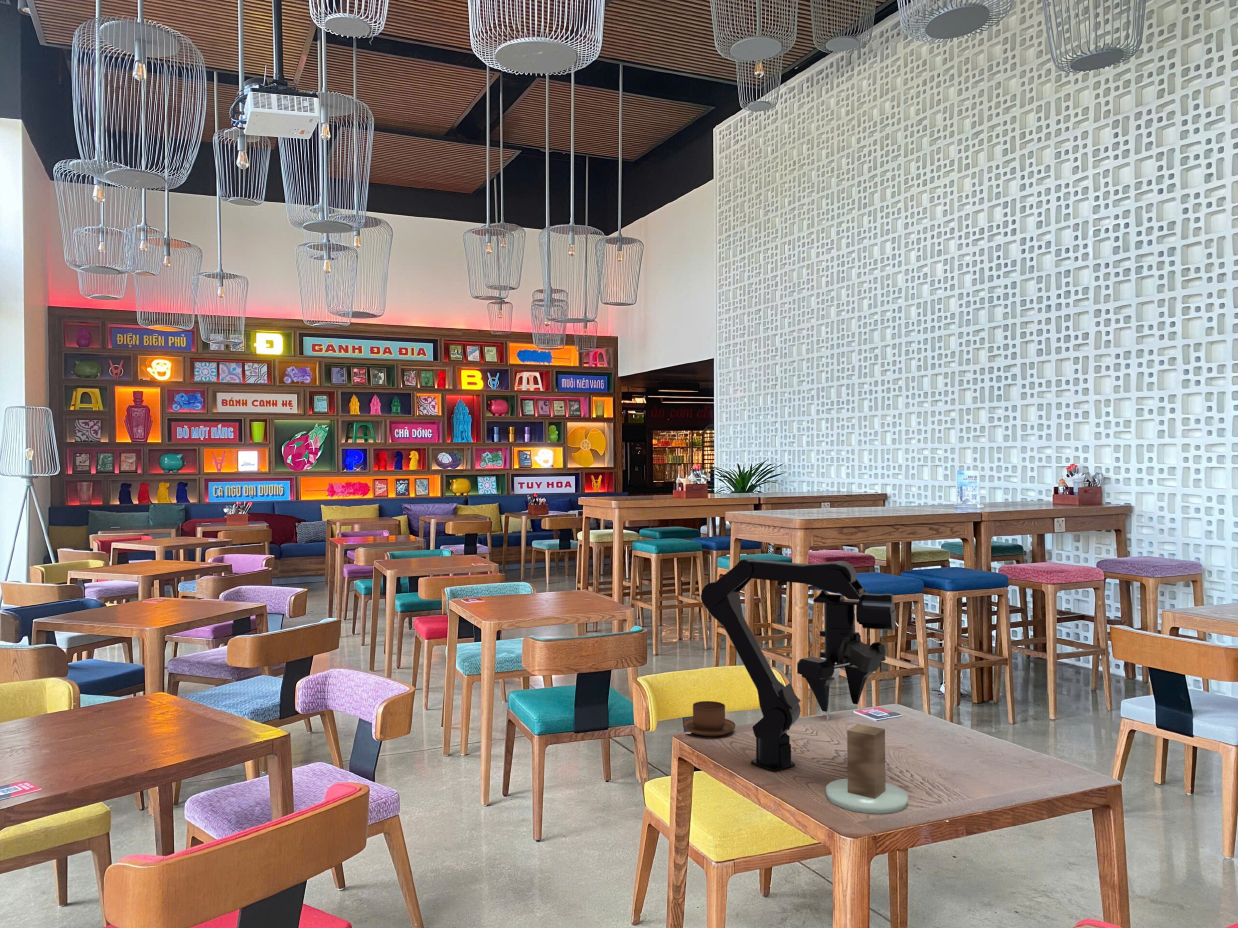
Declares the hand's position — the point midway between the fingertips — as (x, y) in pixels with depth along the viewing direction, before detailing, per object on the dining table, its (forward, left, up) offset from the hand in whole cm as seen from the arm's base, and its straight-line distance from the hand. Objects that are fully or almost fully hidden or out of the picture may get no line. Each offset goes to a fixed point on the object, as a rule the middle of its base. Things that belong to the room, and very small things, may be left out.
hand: (840, 707), depth 160 cm
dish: (+10, -6, -13) cm, 18 cm away
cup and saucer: (-37, -1, -13) cm, 39 cm away
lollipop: (-27, +29, -13) cm, 42 cm away
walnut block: (+10, -6, -12) cm, 17 cm away
